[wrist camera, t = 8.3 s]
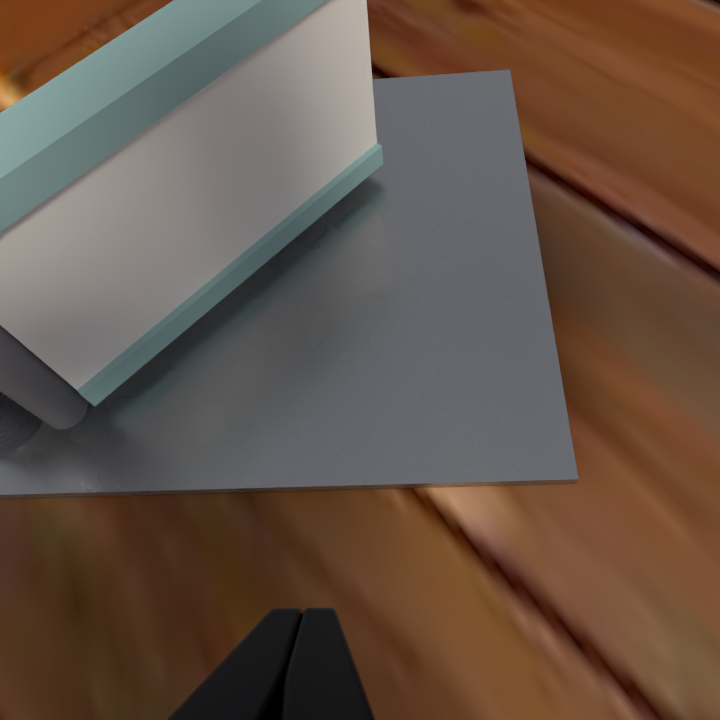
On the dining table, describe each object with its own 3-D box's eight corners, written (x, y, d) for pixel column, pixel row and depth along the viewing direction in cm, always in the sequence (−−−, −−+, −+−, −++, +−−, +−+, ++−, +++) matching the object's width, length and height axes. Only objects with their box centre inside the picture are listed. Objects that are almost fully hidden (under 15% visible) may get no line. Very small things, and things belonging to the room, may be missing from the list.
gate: (62, 441, 22) (-170, 284, 13) (33, 406, 23) (-206, 236, 14) (385, 168, 27) (369, -82, 18) (352, 147, 28) (322, -104, 19)
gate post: (-96, 501, 23) (-542, 345, 12) (32, 112, 32) (-160, -171, 21) (574, 483, 21) (734, 285, 11) (508, 78, 30) (558, -248, 20)
